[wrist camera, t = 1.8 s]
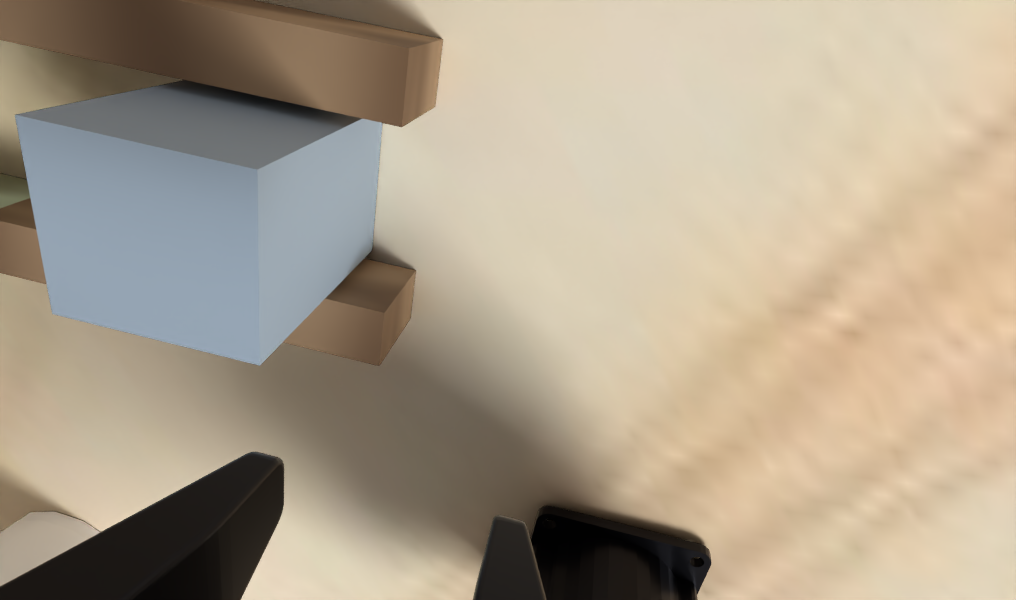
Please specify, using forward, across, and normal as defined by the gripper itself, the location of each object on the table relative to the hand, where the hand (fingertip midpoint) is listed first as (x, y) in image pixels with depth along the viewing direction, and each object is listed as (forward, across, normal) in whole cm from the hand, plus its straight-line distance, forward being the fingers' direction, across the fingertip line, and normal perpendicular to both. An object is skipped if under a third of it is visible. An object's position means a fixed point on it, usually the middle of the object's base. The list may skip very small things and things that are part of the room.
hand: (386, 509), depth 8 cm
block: (+12, +7, 0) cm, 14 cm away
